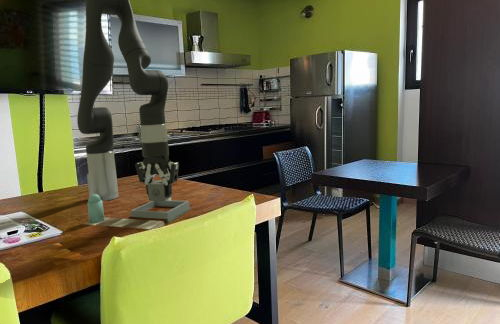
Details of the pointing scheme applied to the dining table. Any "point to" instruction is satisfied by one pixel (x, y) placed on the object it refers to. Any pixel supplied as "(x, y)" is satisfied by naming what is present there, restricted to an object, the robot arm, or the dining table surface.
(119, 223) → the track
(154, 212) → the tray
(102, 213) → the pawn
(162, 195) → the dice cube
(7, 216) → the dining table surface
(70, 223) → the dining table surface
